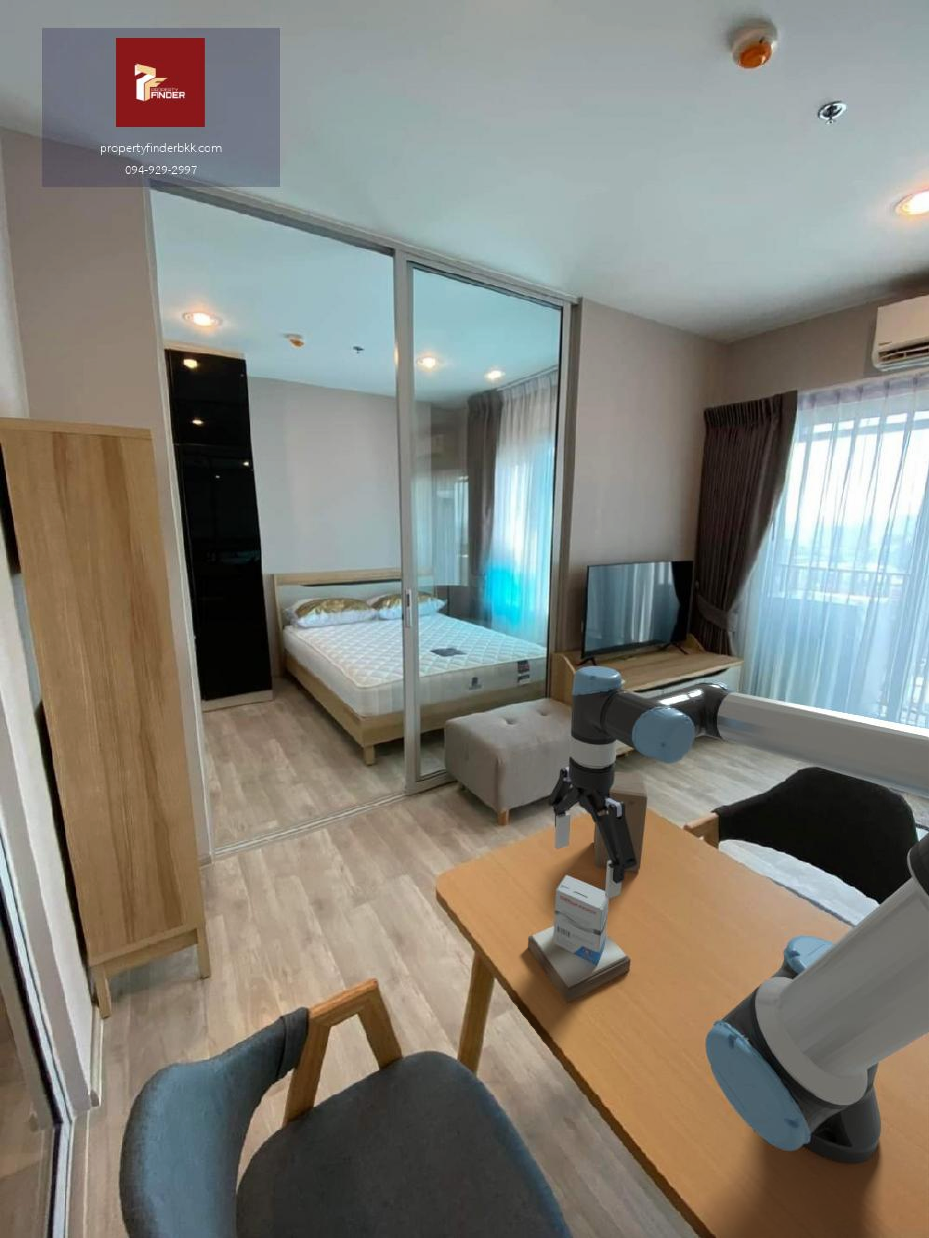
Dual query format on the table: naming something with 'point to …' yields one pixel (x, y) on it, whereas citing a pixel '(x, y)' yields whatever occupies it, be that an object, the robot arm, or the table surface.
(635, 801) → the wooden block
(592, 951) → the ink box
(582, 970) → the stand
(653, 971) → the table surface
